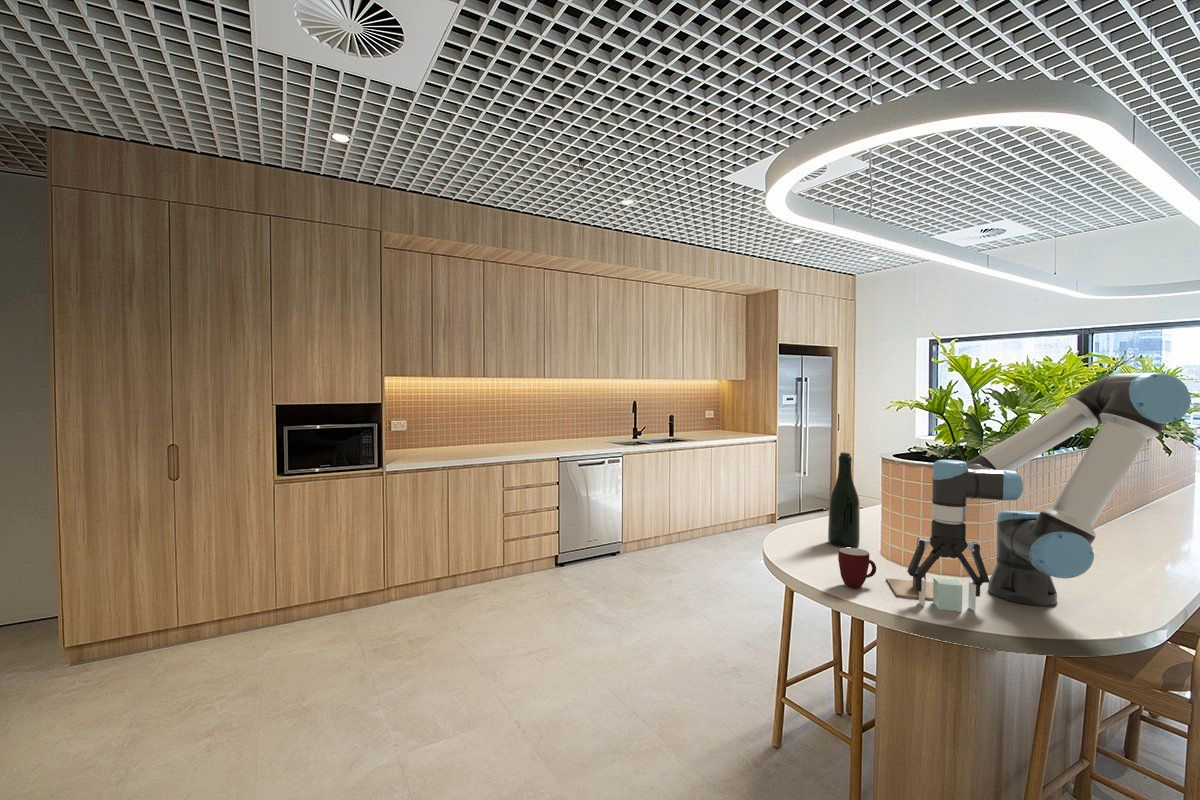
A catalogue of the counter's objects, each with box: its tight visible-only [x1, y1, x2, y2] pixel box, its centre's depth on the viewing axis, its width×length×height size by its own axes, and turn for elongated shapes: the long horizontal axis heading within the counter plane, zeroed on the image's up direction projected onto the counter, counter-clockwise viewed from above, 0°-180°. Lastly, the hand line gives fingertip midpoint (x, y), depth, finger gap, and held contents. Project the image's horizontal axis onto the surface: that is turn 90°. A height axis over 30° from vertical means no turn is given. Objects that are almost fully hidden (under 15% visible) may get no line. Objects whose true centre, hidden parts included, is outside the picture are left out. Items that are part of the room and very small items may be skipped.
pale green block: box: [932, 577, 963, 613], centre depth 149 cm, size 5×5×7 cm
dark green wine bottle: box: [827, 451, 861, 548], centre depth 208 cm, size 10×10×33 cm
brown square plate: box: [885, 563, 933, 601], centre depth 161 cm, size 14×14×7 cm
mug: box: [837, 547, 877, 590], centre depth 164 cm, size 10×8×10 cm
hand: (946, 606), depth 149 cm, fingers open, 11 cm apart
